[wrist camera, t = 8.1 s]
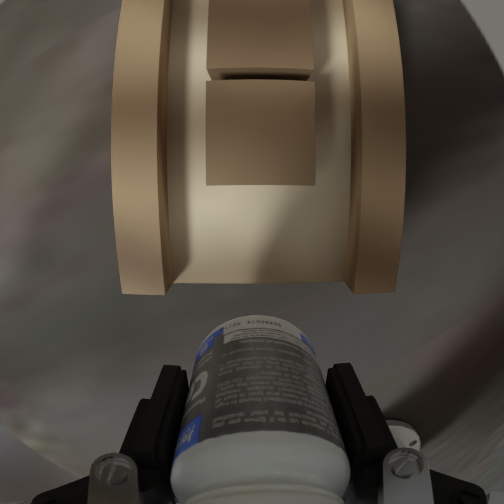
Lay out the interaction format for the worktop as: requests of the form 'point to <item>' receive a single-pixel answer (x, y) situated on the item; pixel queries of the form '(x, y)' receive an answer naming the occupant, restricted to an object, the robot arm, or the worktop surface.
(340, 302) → the worktop surface
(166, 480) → the robot arm
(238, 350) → the pill bottle
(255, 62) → the walnut chip
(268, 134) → the walnut chip
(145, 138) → the slot block
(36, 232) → the worktop surface
